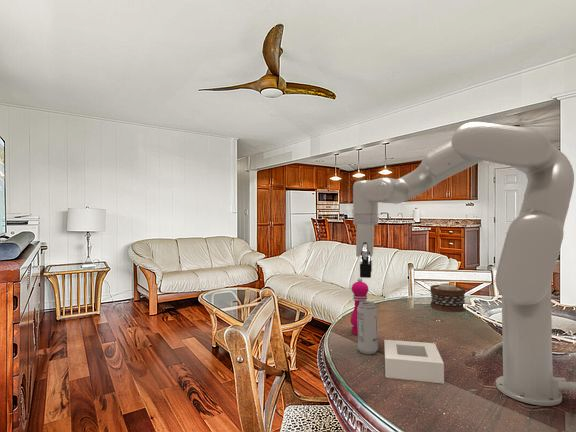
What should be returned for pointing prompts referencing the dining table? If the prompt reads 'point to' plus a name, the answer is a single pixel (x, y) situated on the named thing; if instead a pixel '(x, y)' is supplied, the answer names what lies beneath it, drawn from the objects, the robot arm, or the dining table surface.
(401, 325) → the dining table surface
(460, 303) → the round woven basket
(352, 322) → the pepper mill
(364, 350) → the energy drink can
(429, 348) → the socket block
